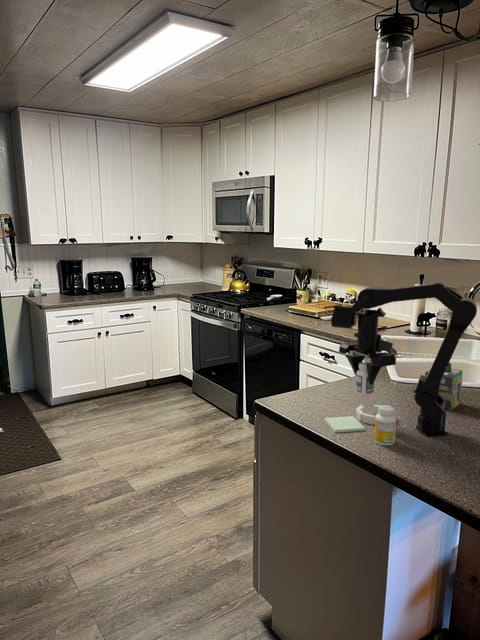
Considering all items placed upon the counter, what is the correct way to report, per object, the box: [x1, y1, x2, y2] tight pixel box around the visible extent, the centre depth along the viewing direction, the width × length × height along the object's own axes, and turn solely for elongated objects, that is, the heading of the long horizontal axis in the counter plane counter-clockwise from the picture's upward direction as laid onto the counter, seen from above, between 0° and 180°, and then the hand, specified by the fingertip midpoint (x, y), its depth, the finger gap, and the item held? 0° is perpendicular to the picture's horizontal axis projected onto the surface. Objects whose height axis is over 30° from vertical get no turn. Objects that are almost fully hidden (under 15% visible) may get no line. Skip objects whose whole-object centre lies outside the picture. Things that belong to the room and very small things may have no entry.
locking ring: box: [355, 404, 381, 426], centre depth 146 cm, size 10×10×2 cm
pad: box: [324, 415, 366, 434], centre depth 141 cm, size 9×9×1 cm
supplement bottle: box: [373, 404, 397, 446], centre depth 129 cm, size 5×5×10 cm
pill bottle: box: [355, 361, 375, 396], centre depth 142 cm, size 5×5×9 cm
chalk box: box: [424, 362, 463, 412], centre depth 156 cm, size 9×9×15 cm
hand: (364, 381), depth 142 cm, fingers closed on pill bottle, 5 cm apart
